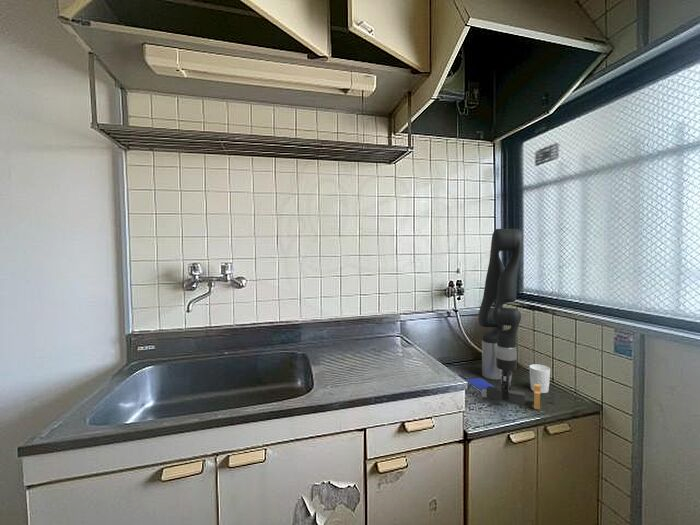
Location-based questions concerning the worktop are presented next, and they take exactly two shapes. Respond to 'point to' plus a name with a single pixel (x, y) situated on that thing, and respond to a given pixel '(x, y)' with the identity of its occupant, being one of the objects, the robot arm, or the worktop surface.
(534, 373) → the white cup
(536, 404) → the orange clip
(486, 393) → the gray rectangular block
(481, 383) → the hard drive
